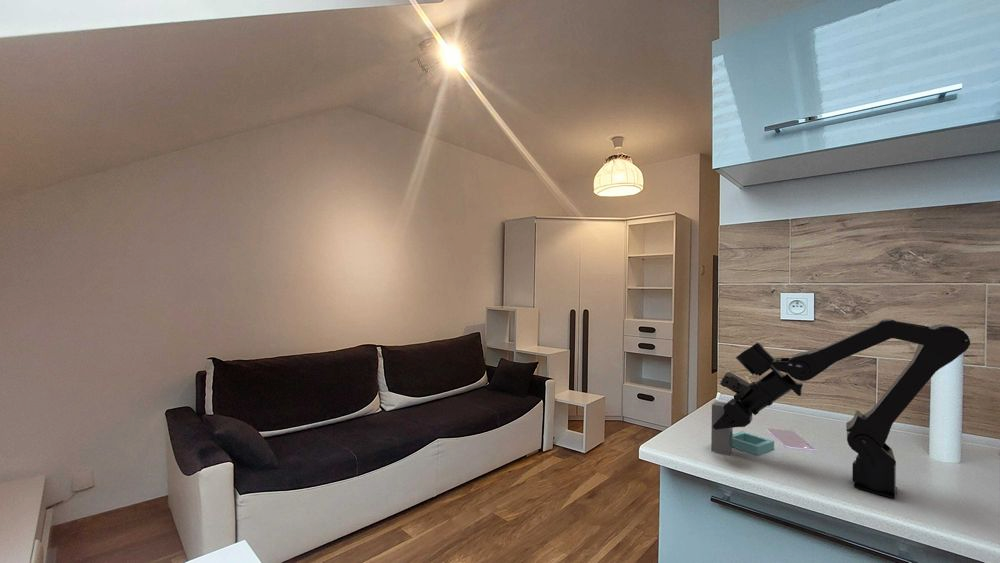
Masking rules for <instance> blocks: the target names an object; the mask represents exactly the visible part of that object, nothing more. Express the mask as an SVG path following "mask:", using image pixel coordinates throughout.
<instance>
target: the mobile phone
mask: <svg viewBox="0 0 1000 563" xmlns="http://www.w3.org/2000/svg"><path fill="white" fill-rule="evenodd" d="M766 432H768V433H769V435H771V436H772V437H773V438H774V439H775V440H776V441H777V442H778V443H779V444H781V446H782V447H784V448H786V449H788V450H789V449H790V450H799V451H800V450H801V451H808V452H809V451H811V452H817V449H816V448H815V447H814V446H813V445H812V444H810V443H809V442H808V441H806V440H805V439H804V438H803V437H802V436H800V435H799V434H798V433H796V431H793V430H788V429H787V430H786V429H779V428H766Z"/></svg>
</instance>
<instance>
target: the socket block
mask: <svg viewBox="0 0 1000 563" xmlns="http://www.w3.org/2000/svg"><path fill="white" fill-rule="evenodd" d="M732 448H736V449H738V450H741V451H744V452H747V453H749V454H753V455H756V456H760V455H763V454H765V453H768V452H770V451H772V450H774V449H775V440H772V439H769V438H765V437H763V436H758V435H756V434H753V433H750V432H746V431H744V430H743V431H742V430H741V431H739V432H736V433H733V438H732Z"/></svg>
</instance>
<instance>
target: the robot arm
mask: <svg viewBox="0 0 1000 563" xmlns="http://www.w3.org/2000/svg"><path fill="white" fill-rule="evenodd" d="M891 339H895V340H900V341H903V342H908V343H913V344H917V347H916V349H915V351H914V355H913V357H912V359H911V360H910V361H909V363H908V364H907V365H906V367H905V368H904V369H902V371H901V372H900V374H899V375H898V376H897V378H895V380H894V382H892V383H891V385H890V387H889V388H887V390H886V391H885V392H884V394H883V395H882V396H881V397H880V398H879V400H878V401H877V403H876V404H875V405H874V406H873V407H872V409H870V410H868V411H866V413H862V412H860V411H859V410H856V411H855V413H854V415H853V417H852V418H851V420H850V421H847V422H846V424H845V425H846V441H847V444H848V446H849V447H850V449H851V450H853V452H855V453H857V455H856V457H855V460H854V461H853V462H852V471H851V472H852V476H851V478H852V482H853V483H854V484H853V487H854V488H856V489H859V490H863V491H865V492H869V493H873V494H876V495H880V496H883V497H886V498H890V499H896V495H897V492H898V487H897V484H896V483H897V461H896V458H895V454H894V451H893V448H892V447H890V446H889V445H888V444H887V443H886V442H887V440H888V436H889V434H890V432H891V428H892V426H893V424H894V422H895V421H896V420H897V419H898V418H899V416H901V415H902V413H903V412H904V411H905V410H906V408H907V407H908V406H909V405H910V403H911V402H912V401H913V400H914V398H915V397H917V395H918V394H919V393H920V391H922V389H923V388H924V387H925V385H926V384H928V382H929V381H930V380H931V378H932V377H933V376H934V375H935V374H936V373H937V372H938V371H939V370H941V369H942V368H944V367H945V366H947V365H949V364H950V363H952V362H953V361H955V360H956V359H957V358H959V357H960V356H961V355H963V354H964V353H965V352H966V351H968V349H969V347H970V345H971V340H970V338H969V334H967V333H966V332H965V331H964V330H962V329H961V328H958V327H955V326H952V325H949V324H943V323H942V324H940V323H938V324H933V325H931V326H927V325H922V324H915V323H910V322H904V321H897V320H895V319H891V318H884V319H881V320H878V322H876V323H875V324H872V325H870V326H868V327H866V328H864V329H861V330H859V331H857V332H855V333H852V334H850V335H848V336H847V337H844V338H841V339H840V340H837V341H835V342H832V343H830V344H828V345H827V346H824V347H820V348H816V349H811V350H806V351H804V352H800V353H796V354H794V355H792V356H790V357H774V356H773V355H771V353H769V352H768V351H767V350H766V349H765V347H764V346H763V344H762V343H760V342H756V343H754V344H753V345H751V346H750V347H749V348H747V349H745V350H743V351H742V352H741V353H739V355H737V356H736V357H735V359H736V360H737V361H738V362H739V363H740V364H741V365H742V366H743V367H744V369H745V370H747V371H748V372H749V373H750V374H751V375H753V376H754V375H755V376H759V377H760V376H762V375H763V374H765V373H766V372H768V371H769V370H771V371H770V372H769V373H767V374H766V375H763V377H761V378H760V379H758V380H757V381H753V382H751V383H750V382H748V381H746V380H745V379H743V378H741V377H739V376H738V375H736V374H734V373H732V372H729V371H728V372H726V373H725V374H724V376H723V378H721V381H720V383H719V384H720V385H721V387H723V388H726V389H729V390H730V391H731V392H733V393H735V394H734V395H733V398H731V399H730V400H728V401H727V402H725V403H726V404H725V405H724V407H723V408H724V414H723V415H722V416H721V417H720V418H719V420H718V421H717V422H716V423H715V424H714V425H713V428H714V429H715V430H718V429H725V428H733V429H734V428H746V426H748V425H750V424H751V423H752V421H753V416H756V415H758V414H759V413H760V412H761V411H762V410H764V409H765V408H767V407H770V406H772V405H773V404H774V402H776V401H778V400H779V399H780V398H782V397H783V396H785V395H786V394H788V393H789V392H791V391H793V393H794V394H796V395H797V397H801V396H802V393H803V389H802V388H803V386H804V383H803V382H805V381H809V380H812V379H813V378H814V377H816V376H817V375H819V374H821V373H822V372H824V371H825V370H827V369H828V368H829V367H830V366H832V365H834V364H835V363H837V362H840V361H841V360H844V359H846V358H849V357H851V356H853V355H855V354H857V353H860V352H863V351H865V350H867V349H870V348H872V347H874V346H876V345H879V344H881V343H883V342H886V341H889V340H891ZM795 380H796V381H795ZM797 381H801V382H797Z"/></svg>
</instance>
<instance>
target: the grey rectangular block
mask: <svg viewBox="0 0 1000 563" xmlns="http://www.w3.org/2000/svg"><path fill="white" fill-rule="evenodd" d="M726 403H727V402H722V401H717V400H714V402H713V403H712V404H711V438H710V440H711V441H710V442H711V443H710V444H711V449H710V450H711V452H712V451H713V453H717V454H720V455H721V454H722V455H724V456H725V455H726V456H728V457H729V456H730V455H731V453H732V452H733V447H732V438H733V434H734V431H733V429H734V428H725V429H718V430H715V429H714V428H713V425H714V424H715V423H716V422H717V421H718V420H719V418H720V417H721V416H722V415H723V414H724V408H723V407H724V405H725V404H726Z"/></svg>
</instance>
